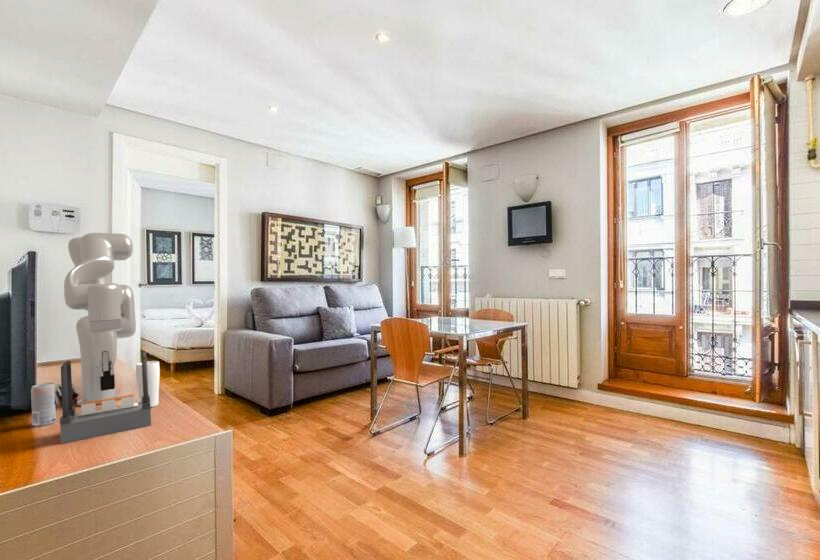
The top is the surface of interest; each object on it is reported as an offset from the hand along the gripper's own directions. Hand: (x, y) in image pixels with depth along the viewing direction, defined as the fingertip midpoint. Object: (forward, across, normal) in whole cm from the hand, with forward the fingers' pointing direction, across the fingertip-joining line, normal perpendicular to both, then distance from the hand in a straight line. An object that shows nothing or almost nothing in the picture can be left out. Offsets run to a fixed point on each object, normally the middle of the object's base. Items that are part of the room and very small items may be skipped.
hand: (107, 389), depth 114 cm
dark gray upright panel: (+7, 0, -9) cm, 11 cm away
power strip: (+12, 0, 0) cm, 12 cm away
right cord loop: (+7, 0, +9) cm, 11 cm away
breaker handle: (+6, 0, 0) cm, 6 cm away
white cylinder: (+12, -18, +10) cm, 24 cm away
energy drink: (+12, -20, -17) cm, 29 cm away
